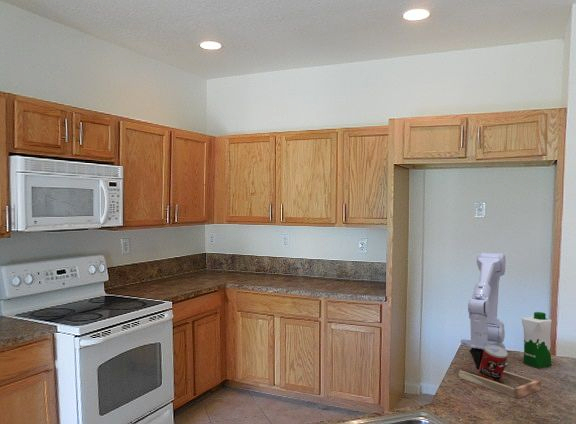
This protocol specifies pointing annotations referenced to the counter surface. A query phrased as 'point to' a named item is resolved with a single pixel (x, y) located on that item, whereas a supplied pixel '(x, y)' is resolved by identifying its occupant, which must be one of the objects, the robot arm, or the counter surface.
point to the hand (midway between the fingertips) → (479, 369)
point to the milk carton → (537, 340)
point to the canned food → (493, 363)
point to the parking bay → (518, 392)
